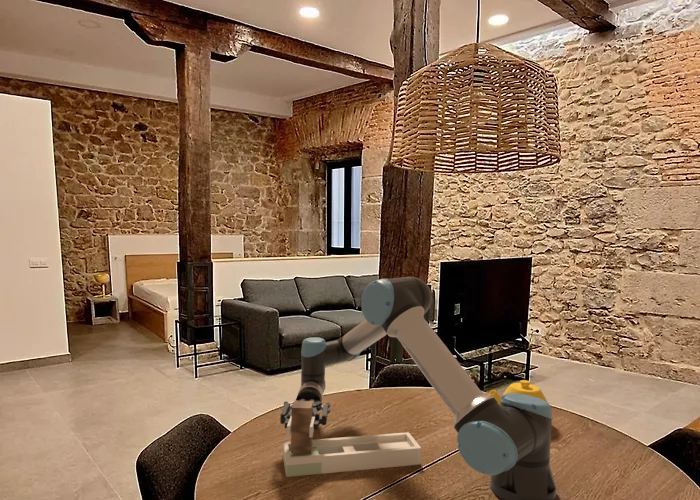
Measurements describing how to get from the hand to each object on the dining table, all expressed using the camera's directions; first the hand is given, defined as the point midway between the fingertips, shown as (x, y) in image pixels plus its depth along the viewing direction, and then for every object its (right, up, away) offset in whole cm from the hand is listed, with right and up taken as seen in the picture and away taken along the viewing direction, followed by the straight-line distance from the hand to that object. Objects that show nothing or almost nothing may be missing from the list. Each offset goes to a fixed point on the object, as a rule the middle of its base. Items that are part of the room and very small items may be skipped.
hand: (299, 431), depth 123 cm
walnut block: (0, -7, +6) cm, 9 cm away
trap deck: (+13, -11, +9) cm, 19 cm away
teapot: (+68, -11, +38) cm, 78 cm away
